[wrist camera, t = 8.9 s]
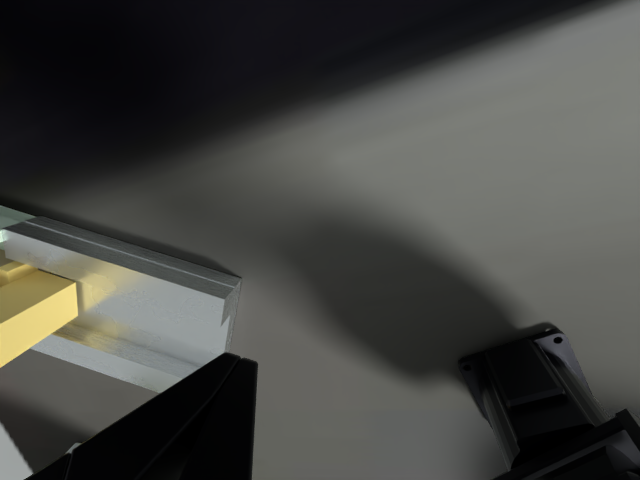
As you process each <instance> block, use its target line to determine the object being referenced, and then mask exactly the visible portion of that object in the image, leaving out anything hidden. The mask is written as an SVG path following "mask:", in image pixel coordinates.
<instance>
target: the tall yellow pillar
mask: <svg viewBox="0 0 640 480" xmlns="http://www.w3.org/2000/svg"><path fill="white" fill-rule="evenodd" d="M77 316H78V308H77V293H76V282H73V281H70V280H67V279H64V278H61V277H58V276H55V275H52V274H49V273H46V272H42V271H39V270H38V268H36V267H33V266H29V265H26V264H23V263H20V262H17V261H13V262H11V263H8V264H6V265H3V266H1V267H0V368H1V367H2V366H4V365H5V364H7V363H8V362H10V361H11V360H13V359H14V358H16V357H17V356H19V355H20V354H22V353H23V352H24V351H26V350H27V349H29V348H30V347H32V346H33V345H35V344H36V343H38V342H39V341H41V340H42V339H44V338H45V337H47V336H48V335H50V334H51V333H53V332H54V331H56V330H57V329H59V328H60V327H62V326H63V325H65V324H66V323H68V322H69V321H71V320H72V319H74V318H75V317H77Z"/></svg>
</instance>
